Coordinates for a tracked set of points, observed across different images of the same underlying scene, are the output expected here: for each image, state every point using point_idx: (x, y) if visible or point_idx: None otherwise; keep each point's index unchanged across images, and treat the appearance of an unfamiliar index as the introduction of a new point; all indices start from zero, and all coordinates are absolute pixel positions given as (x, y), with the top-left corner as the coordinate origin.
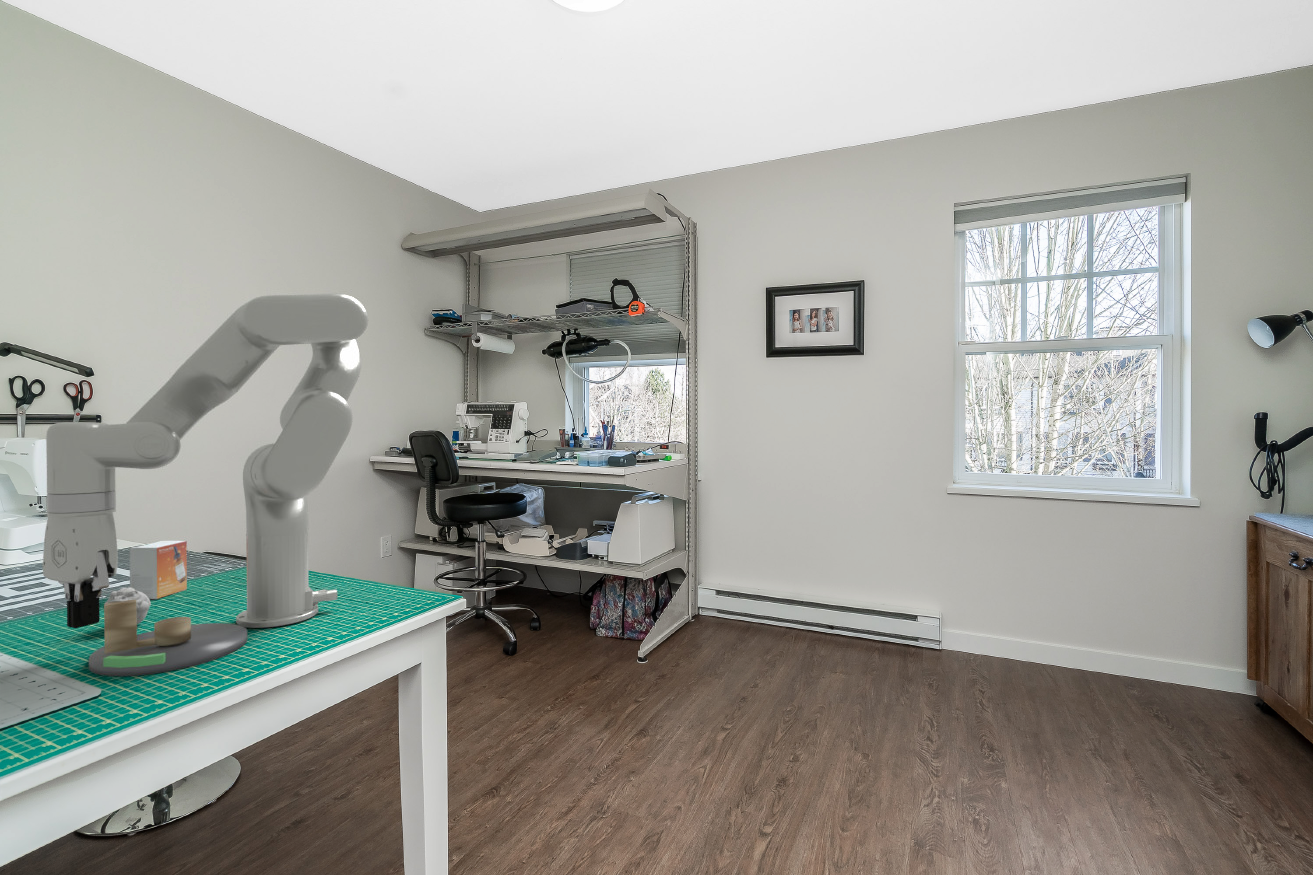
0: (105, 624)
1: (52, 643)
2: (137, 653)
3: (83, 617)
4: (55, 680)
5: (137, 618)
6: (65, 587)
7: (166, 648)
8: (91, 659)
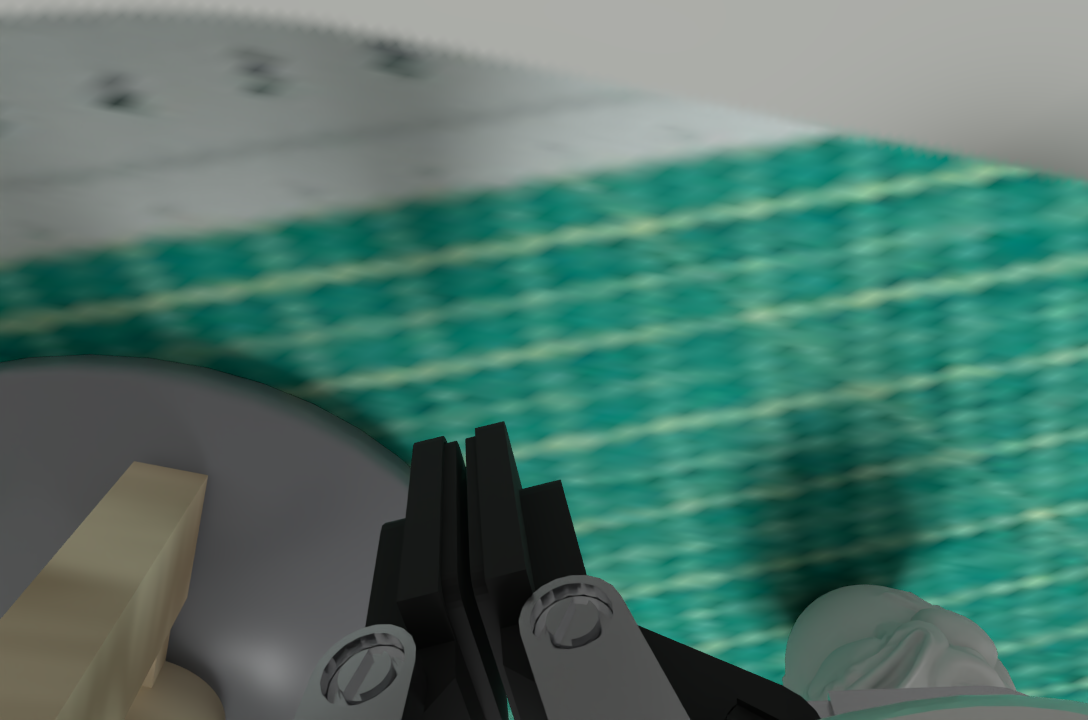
0: (16, 610)
1: (890, 330)
2: None
3: (385, 540)
4: (29, 188)
5: (784, 675)
6: (640, 703)
7: None
8: (130, 392)
